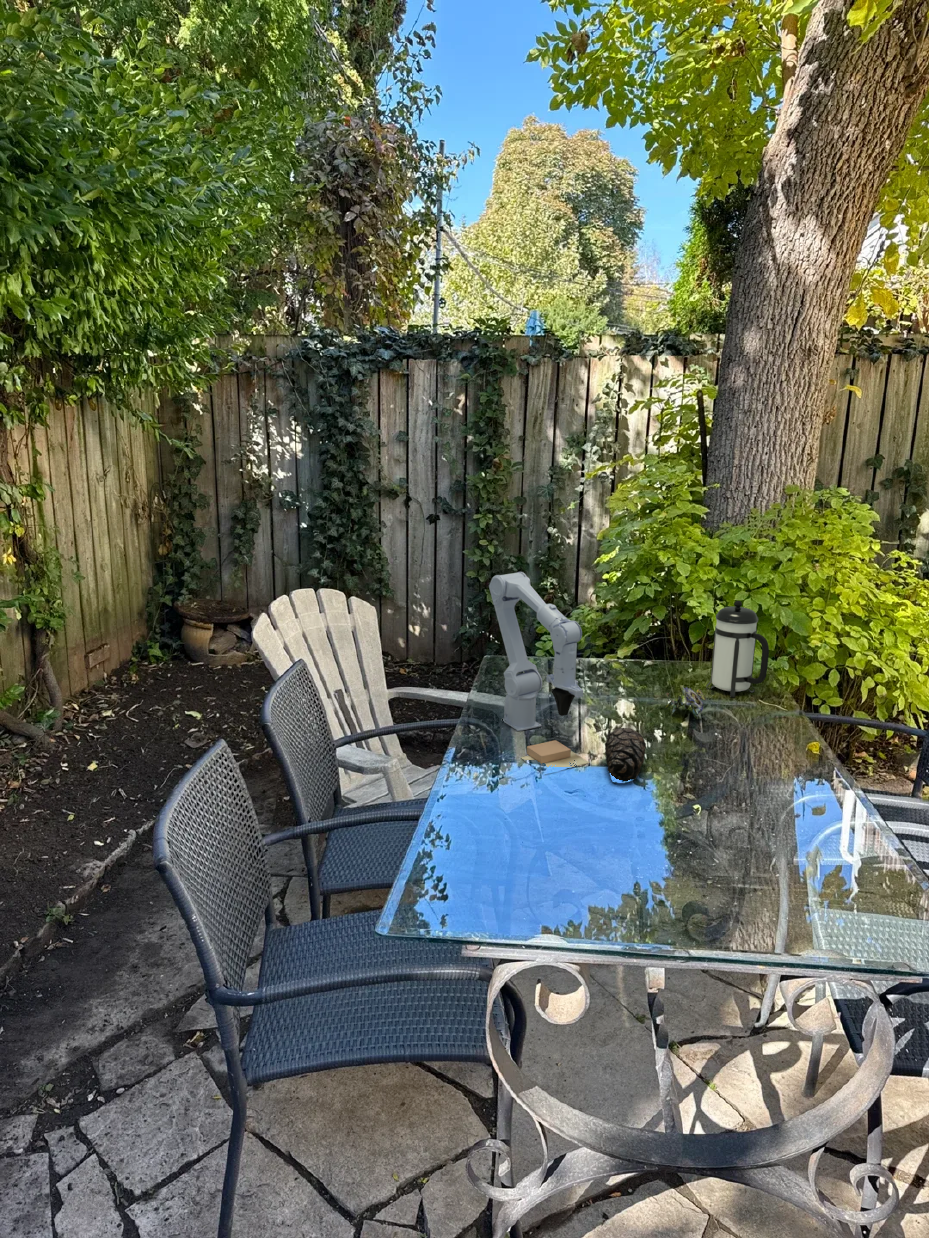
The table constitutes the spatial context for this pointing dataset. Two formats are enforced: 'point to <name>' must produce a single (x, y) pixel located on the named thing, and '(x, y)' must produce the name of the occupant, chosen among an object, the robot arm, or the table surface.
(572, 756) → the board
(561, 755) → the block
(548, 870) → the table surface
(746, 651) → the coffee press
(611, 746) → the pine cone
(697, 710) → the passion flower
